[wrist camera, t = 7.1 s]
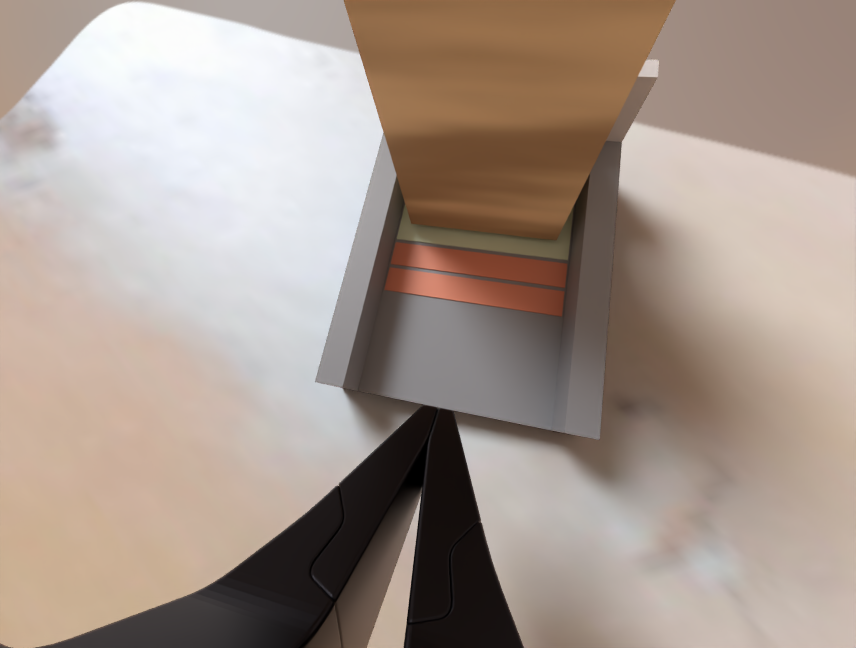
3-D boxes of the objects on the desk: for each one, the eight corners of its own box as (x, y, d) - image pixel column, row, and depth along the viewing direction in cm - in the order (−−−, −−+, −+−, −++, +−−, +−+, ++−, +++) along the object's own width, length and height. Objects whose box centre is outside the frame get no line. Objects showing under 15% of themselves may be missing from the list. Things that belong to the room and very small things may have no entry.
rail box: (574, 435, 15) (640, 447, 9) (341, 387, 17) (274, 372, 11) (598, 173, 18) (658, 60, 12) (400, 156, 20) (372, 51, 14)
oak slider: (556, 240, 16) (830, -312, 4) (411, 223, 17) (270, -243, 5) (564, 167, 17) (807, -460, 5) (427, 156, 18) (340, -373, 6)
